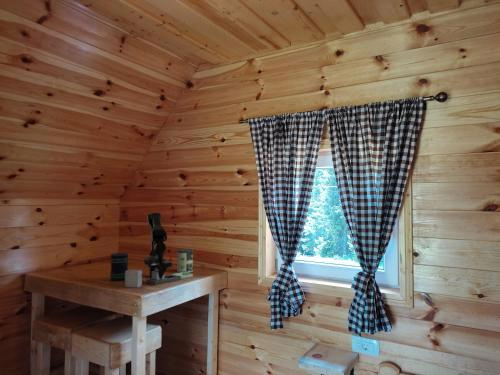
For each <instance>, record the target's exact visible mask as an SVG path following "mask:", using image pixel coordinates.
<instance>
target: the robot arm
mask: <svg viewBox="0 0 500 375" xmlns="http://www.w3.org/2000/svg"><path fill="white" fill-rule="evenodd" d="M161 221H162V214H161V213H160V212H151V213H149V214H147V216H146V222H147V225H148V226H149V228H150V248H151V249H150V253H149V255H148V256H147V257H145V258H144V259H143V261H144V262H143V263H144V265H146V266H147V268H149V273H148V274H149V275H147V276H146V277H147V278H152V271H155V268H158V269H159V276H160V279H162V277H163V275H164V276H165V273H166V271H167V269H169V268H172V267H173V262H172V261H170V260H169V261H168V260H166V259H164V255H165V254H166V252H165V251H166V249H167V245H166V244H165V243H164V242H167V240H168V236H167V232H166V230H165V228H164V226H162V223H161Z"/></svg>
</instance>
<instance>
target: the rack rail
mask: <svg viewBox="0 0 500 375" xmlns="http://www.w3.org/2000/svg"><path fill="white" fill-rule="evenodd" d="M172 274H173V273H171V274H166V275H164V279H163V280H157V281H156V280H152V278H151V277H149V278H146V279H145V283H146V284H149V285H153V286H158V285H163V284H167V283H173V282H178V281H181V280H182V279H181V276H176V275H172Z"/></svg>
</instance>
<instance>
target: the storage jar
mask: <svg viewBox="0 0 500 375" xmlns="http://www.w3.org/2000/svg"><path fill="white" fill-rule="evenodd" d="M128 264H129V253H127V252H126V253H125V252H121V253H120V252H119V253H117V252H116V253H112V254H110V281H111V282H114V281H119V282H125V271H127V270H129V269H128V267H129V265H128Z"/></svg>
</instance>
